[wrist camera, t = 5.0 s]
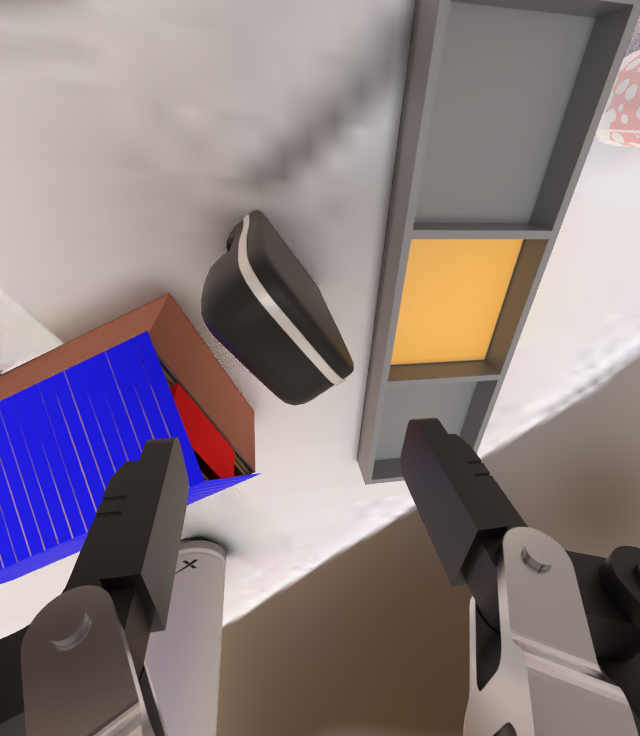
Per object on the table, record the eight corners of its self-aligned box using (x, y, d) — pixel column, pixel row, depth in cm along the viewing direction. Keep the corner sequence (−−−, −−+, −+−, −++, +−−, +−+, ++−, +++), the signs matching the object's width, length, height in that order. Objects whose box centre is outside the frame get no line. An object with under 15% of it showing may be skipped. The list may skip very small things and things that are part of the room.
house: (-83, 408, 25) (-295, 581, 15) (171, 285, 23) (115, 389, 14) (54, 502, 31) (-33, 664, 22) (259, 411, 30) (264, 542, 20)
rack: (417, -11, 17) (445, -36, 15) (599, 10, 19) (652, -9, 17) (357, 459, 34) (365, 484, 32) (455, 449, 36) (471, 472, 34)
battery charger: (207, 243, 22) (175, 322, 13) (256, 203, 21) (260, 255, 12) (278, 323, 26) (296, 433, 16) (322, 292, 25) (367, 386, 15)
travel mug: (180, 529, 36) (119, 871, 19) (237, 546, 39) (228, 854, 22) (149, 562, 38) (71, 898, 21) (206, 576, 41) (176, 879, 24)
